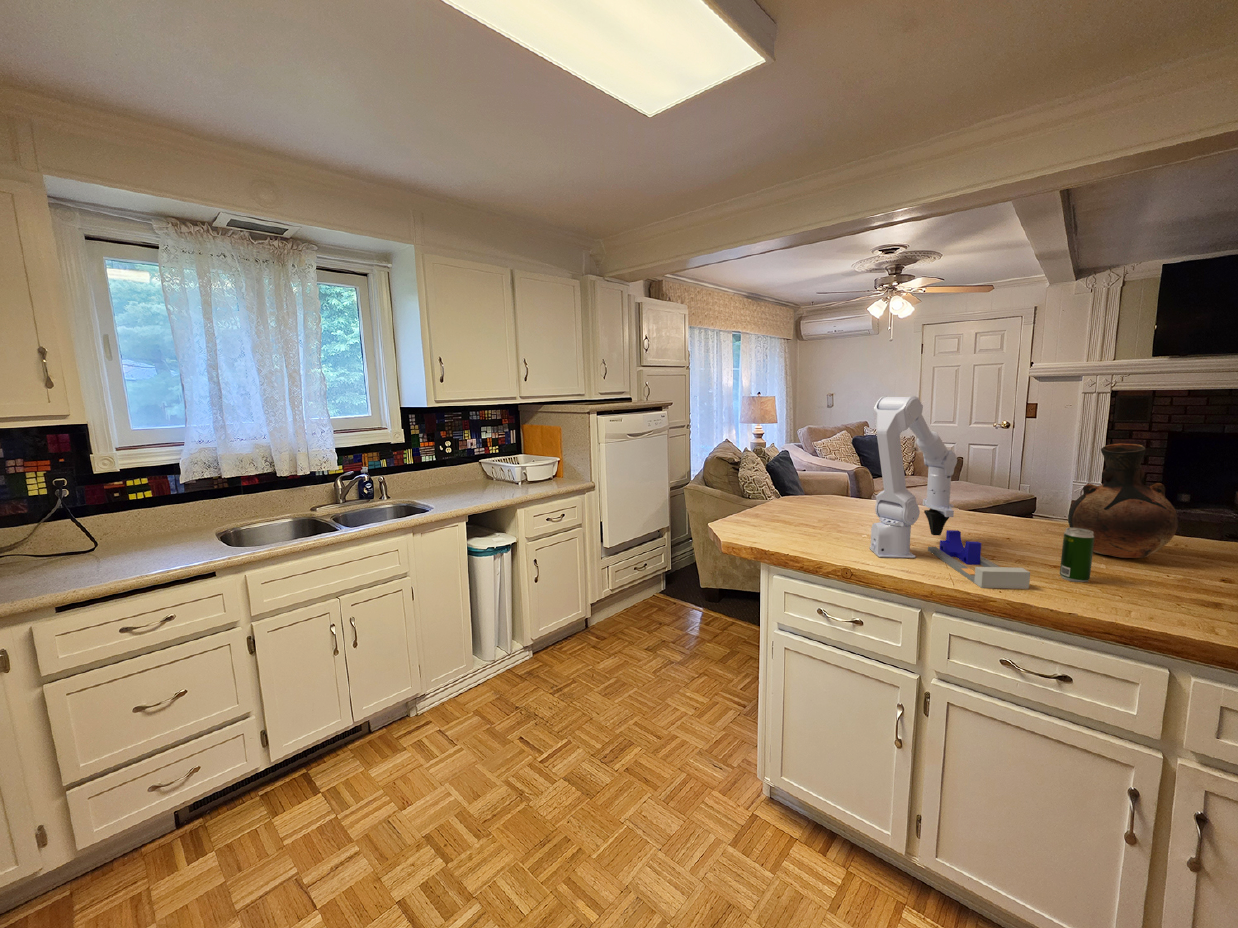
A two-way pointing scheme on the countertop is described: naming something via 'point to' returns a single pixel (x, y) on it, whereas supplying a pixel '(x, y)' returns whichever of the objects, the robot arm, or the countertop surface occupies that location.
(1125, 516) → the ceramic vessel
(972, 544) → the cable clip
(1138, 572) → the countertop surface
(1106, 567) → the countertop surface
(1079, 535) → the beer can
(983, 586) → the cable guide
